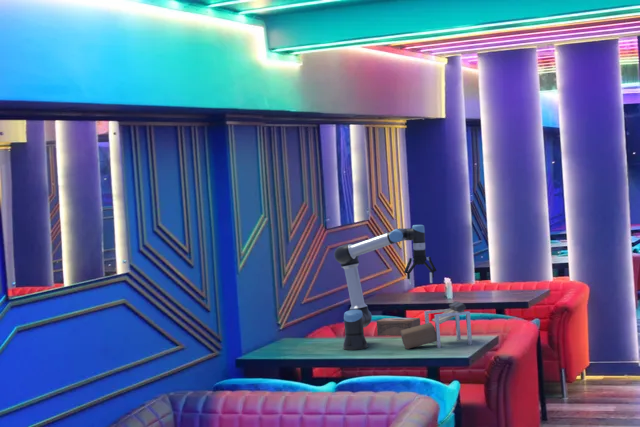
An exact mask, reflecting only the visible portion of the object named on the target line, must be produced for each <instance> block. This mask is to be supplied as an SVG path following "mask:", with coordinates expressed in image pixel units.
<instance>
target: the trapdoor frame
mask: <svg viewBox="0 0 640 427" xmlns="http://www.w3.org/2000/svg"><path fill="white" fill-rule="evenodd" d="M448 310H450V308H445V309H435V310H434V309H433V310H424V311H423V312H424V324H427V323H430V317H429V316H430V315H429V314H434V315H433V316H434V318H435V322H434V327H435V332H436V342H435V343H436V348H438V349H439V348H442V345H441V332H440V331H441V330H440V324H439V317H445V316H455V315H457V316H455V317H454V318H455V319H454V320H455V333H456V340H457V341H461V340H462V339H461V338H462V336H461V322H460V316H462V315H463V316H465V320H466V335H467V337H466V338H467V345H469V344H470V345H473V339H472V338H473V337H472V335H473V334H472V323H471V322H472V320H471V311H464V312H456V313H446V314H442V313H444V312H446V311H448Z"/></svg>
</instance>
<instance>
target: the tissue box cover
mask: <svg viewBox="0 0 640 427" xmlns="http://www.w3.org/2000/svg"><path fill="white" fill-rule="evenodd" d="M419 325H421V318H420V317H388V318H387V317H385V318H381V319H378V320H376V334H377V336H381V337H382V336H384V337H385V336H389V337H390V336H396V337H397V336H399V337H400V336H401V330H404V329H408V328H412V327H415V326H419Z"/></svg>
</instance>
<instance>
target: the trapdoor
mask: <svg viewBox="0 0 640 427" xmlns="http://www.w3.org/2000/svg"><path fill="white" fill-rule="evenodd" d="M448 306H449V309H450V310H448V311H446V312H441V314H446V313H456V312H465V310H466V309H467V307H466V304H465V303H463V302H459V301H454V302H452V303H449V304H448ZM455 316H457V315H455ZM455 316H445V317H439V325H441V324H443V323H446V322H448V321H449V320H451V319H453V318H455ZM431 321H432V322H434V323H435V317H434V318H432V319H431Z"/></svg>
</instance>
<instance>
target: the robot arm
mask: <svg viewBox="0 0 640 427" xmlns="http://www.w3.org/2000/svg"><path fill="white" fill-rule="evenodd" d="M425 230H426V229H425V225H423V224H413V225H412V227H411V228H407V227H406V228H395V229H393V230H391V231H389V232H386V233H383V234H381V235H378V236H373V237H371V238H368V239H366V240H363V241H360V242H357V243H354V244H351V243H346V244H344V245H340V246H338V247H336V248H335V250H334V252H333V257H334V259H335V261H336V262H337V263H339V264H340V266H341V269H343V270H344V275H345V281H346V285H347V290H348V294H349V295H348V296H349V301H350V305H351V306H350V308H349V310H347V311H345V312H344V313H343V323H344V334H345V337H344V341H343V346H342V347H343V350H346V351H357V350H364V349H367V348H368V342H367V339H366V337H365V333H364V332H365V331H364V328H367V327H368V326H369V325H370V324H371V323H372V321H373V320H372V319H373V316H372V315H373V314H372V312H371V311H370V310H369V307H368V305H367V304H366V303H365V299H364V294H363V289H362V285H361V284H362V283H361V277H360V273H359V269H358V268H359V267H358V266H359V264H360V261H359V258H360V256H362V255H365V254H367V253H370V252H373V251H376V250H379V249H382V248H384V247H388V246H390V245H393V244H397V243H399V242H400V243H401V242H404V241H412V248H413V251H412V252H413V258H412V257H408V262H407V265H406V267H405V269H404V272H403V273H405V274H407V275H406V277H407V280H408V284H409V285H412V273H411V272H412V271H413V270H414V268H415V267H416V266H417V265H418V266H419V265H421V266H422V265H424V266H425V267H426V268H427V269H428V271H430V272H429V284H433V282H434V281H433V278H434V273H435V272H437V269H436V267H435V265H434V262H433V261H432V257H431V256H428V257H427V256H426V254H427V253H426V252H427V251H426V231H425ZM427 261H428V263H429V264H430V265H429V264H428V263H427ZM412 262H413V263H412ZM411 264H412V265H411Z"/></svg>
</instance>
